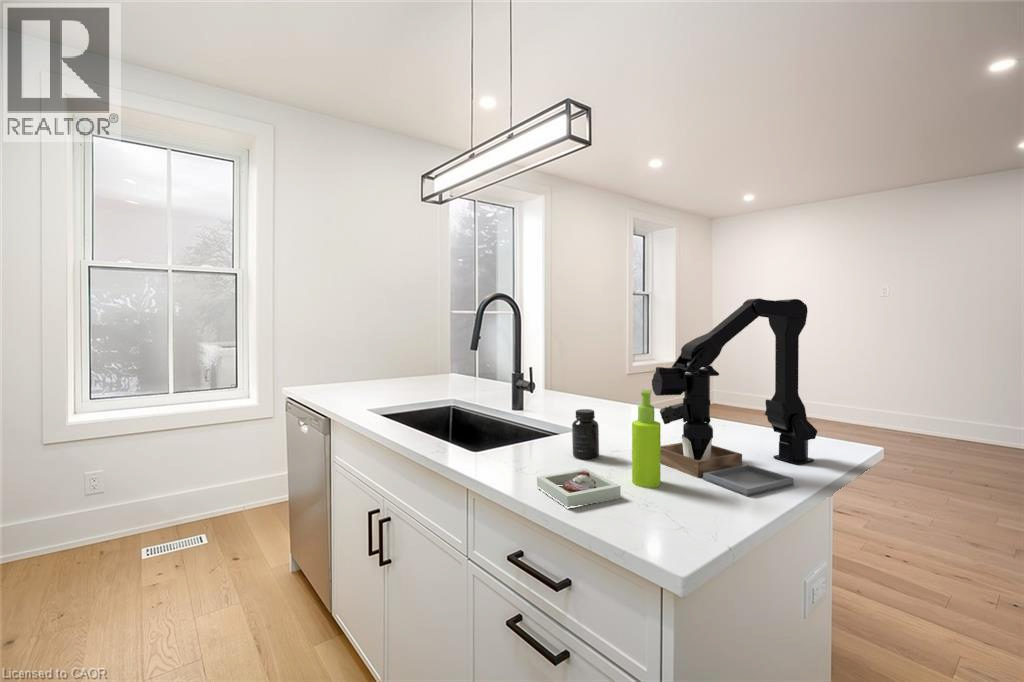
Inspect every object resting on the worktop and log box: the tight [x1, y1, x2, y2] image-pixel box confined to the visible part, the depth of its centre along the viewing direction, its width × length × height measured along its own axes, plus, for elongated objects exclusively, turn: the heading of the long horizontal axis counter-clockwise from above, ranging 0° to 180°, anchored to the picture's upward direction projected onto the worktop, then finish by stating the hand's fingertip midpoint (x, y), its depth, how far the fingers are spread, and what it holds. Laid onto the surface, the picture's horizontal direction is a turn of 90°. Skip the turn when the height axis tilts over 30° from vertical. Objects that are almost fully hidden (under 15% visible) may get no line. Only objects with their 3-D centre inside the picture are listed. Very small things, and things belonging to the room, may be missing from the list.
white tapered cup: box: [681, 434, 713, 460], centre depth 112 cm, size 7×7×7 cm
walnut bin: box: [660, 442, 743, 479], centre depth 112 cm, size 14×14×4 cm
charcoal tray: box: [702, 463, 795, 497], centre depth 99 cm, size 14×11×2 cm
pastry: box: [561, 471, 597, 493], centre depth 93 cm, size 8×8×5 cm
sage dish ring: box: [536, 468, 621, 507], centre depth 94 cm, size 12×12×2 cm
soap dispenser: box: [631, 389, 661, 488], centre depth 100 cm, size 6×7×20 cm
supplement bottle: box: [571, 408, 600, 461], centre depth 120 cm, size 7×7×12 cm
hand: (696, 458), depth 112 cm, fingers closed on white tapered cup, 6 cm apart
